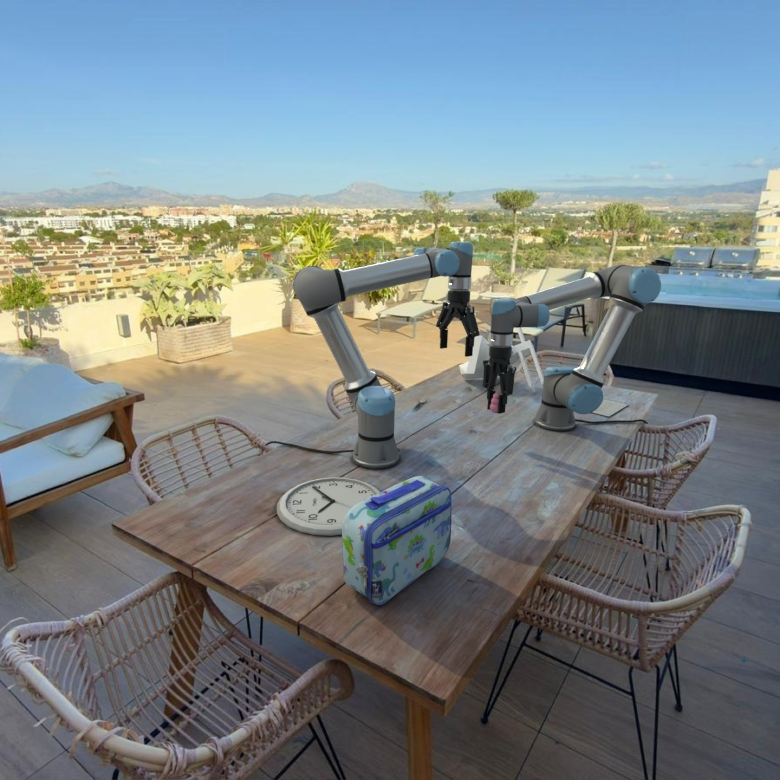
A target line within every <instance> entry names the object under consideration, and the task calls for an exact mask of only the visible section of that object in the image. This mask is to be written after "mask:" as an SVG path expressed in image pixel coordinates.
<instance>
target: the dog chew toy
mask: <svg viewBox="0 0 780 780" xmlns="http://www.w3.org/2000/svg"><path fill="white" fill-rule="evenodd" d="M499 395H501V393H500V392H497V391H496V392H495V394H494V395H493V398H492V400H491V405H490V412H491V413H493V414H498V405H499Z"/></svg>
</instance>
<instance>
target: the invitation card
mask: <svg viewBox="0 0 780 780" xmlns="http://www.w3.org/2000/svg"><path fill="white" fill-rule="evenodd" d="M628 406H629V404H627V403H623V402H618V401H614V400H609V399H605V398H603V401H602V403H601V405H600V406H599V408H598V409H596V410H595V411H594V412H591V413H593V414H596V415H600V416H604V417H608V418H609V417H611V416H613V415H614V414H616V413H617V412H619V411H621V410H623V409H624V408H626V407H628Z"/></svg>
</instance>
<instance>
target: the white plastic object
mask: <svg viewBox="0 0 780 780" xmlns="http://www.w3.org/2000/svg"><path fill="white" fill-rule="evenodd" d="M516 330H517V333H518V336H519V340H520V343H518V344H515V345H513V344H512V345H511V347H512V354H511V357H510V365H511V366H512V365H514V364H515V363H517V362H519V361H520V363H521V366H522V369H523V372H524V375H525V379H526V382H527V385H528V387H529V388H530V390H531V391H532V392H533V394H535V393H536V389H535V385H534V382H533V379H532V376H531V373H530V370H529V369H530V368H529V367H528V363H527V360H526V356H529V355H531V357H532V360H533V364H534V366H535V370H536V372H537V375H538V379H539V381H540V384H541V386H542V387H543V382H544V373H543V370H542V368H541V367H542V366H541V364H540V361H539V358H538V355H537V353H536V350H535V346H534V343H532V341H531V339H528V340H526V338H525V335H524V332H523V329H522V327H518V328H516ZM490 345H491V344H490V342H489V341H488V340H487V339H486V338H485V337H484V335H479V336H476V337H475V338H474V347H473V354H472V356H469V358H468V361H465V362H464V363H461V364H459V365H458V368H459V371H460V375H461V376H462V378H463V379H464V380H474V379H483V376H484V365H483V361H484V360H489V359H490V356H489V346H490ZM497 377H499V376H498V375H497Z"/></svg>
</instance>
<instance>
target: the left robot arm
mask: <svg viewBox="0 0 780 780" xmlns="http://www.w3.org/2000/svg"><path fill="white" fill-rule="evenodd" d="M473 247H474V246H473V243H472V242H470V241H451V242H450V243H449V247H417V248H415V249H414V251H413V255H412V256H407V257H403V258H402V257H401V258H397V259H392V260H389V261H383V262H379V263H374V264H370V265H366V266H360V267H356V268H352V269H347V270H343V269H341V268H340V267H338V268H333V269H324V268H321V267H320V266H317V265H308V266H305V267H303V268H301V269H299V271H298V272H297V273H296V274H295V275H294V277H293V282H292V288H293V291H294V293H295V296H296V298H297V299H298V301H299V303H300V304H301V306H302V308H303V310H304V312H305V314H306V315H307V317H310V318H313V319H314V321H315V324H316V325H317V327H318V329H319V331H320V333H321V336H322V337H323V339H324V341H325V343H326V345H327V346H328V347H327V348H328V349H329V351H330V352H331V354H332V356H333V358H334V361H335V362H336V365H337V366H338V369H339V371H340V372H341V375H342V376H343V379H344V380H345V382H344V385H343V389H344V390H345V392H346V394H347V396H348V398H349V400H350V403H351V404H352V406H353V408H354V411H355V412H356V415H357V439H356V443H355V446H354V448H353V449H344V450H343V449H342V450H323V449H317V448H310V447H305V446H301V445H298V444H293V443H287V442H282V441H277V440H272V441H268V442H266V443H265V444H264V446H266V447H267V446H269V445H271V444H278V445H283V446H289V447H294V448H298V449H302V450H306V451H310V452H311V451H312V452H316V453H324V454H341V453H352V463H354V464H355V465H357V466H358V467H361V468H364V469H369V470H370V469H371V470H382V469H388V468H391V467H394V466H395V465H397V464H398V463H399V460H400V449H399V447H398V446H397V442H396V439H395V413H396V410H395V408H396V399H395V398H396V397H395V393H394V392H393V390H392V389H390V388H388V387H387V388H386V387H385V386H382V383H381V382H380V380H379V378H378V376H377V374H376V372H375V371H373V370H371V369H369V367H368V365H367V363H366V361H365V359H364V357H363V355H362V353H361V351H360V348H359V347H358V344H357V342H356V340H355V339H354V337H353V335H352V334H353V333H352V332H351V330H350V328H349V326H348V324H347V322H346V320H345V318H344V315H343V314H342V311H341V310H340V308H339V305H340V303H343V302H346V301H347V300H348V299H349V298H350V297H353V296H358V295H363V294H366V293H372V292H375V291H380V290H385V289H389V288H393V287H399V286H402V285H407V284H411V283H416V282H419V281H424V280H429V279H434V278H438V277H445V278H446V277H448V279H447V280H448V282H447V288H448V290H447V296H446V297H447V299H446V301H443V302H442V307H441V311H440V313H439V316H438V319H437V321H436V323H435V326H436V328H438V329H439V349H447V348H448V340H449V330H448V329H449V328H448V327H449V325H450V324H451V323H452V321H453V320H454V318H456V319H458V320H459V321H460V322H461V324H462V326H463V329H464V331H465V333H466V335H467V336H466V337H465V344H464V357H465V358H466V357H467V358H468V357H470V356H472V354H473V347H474V338H475V337H476V336H479V335H480V334H481V333H480V330H479V326H478V322H477V319H476V314H475V307H474V306H468V304H469V302H470V301H471V291H470V290H471V288H472V269H473V258H474V248H473Z"/></svg>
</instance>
